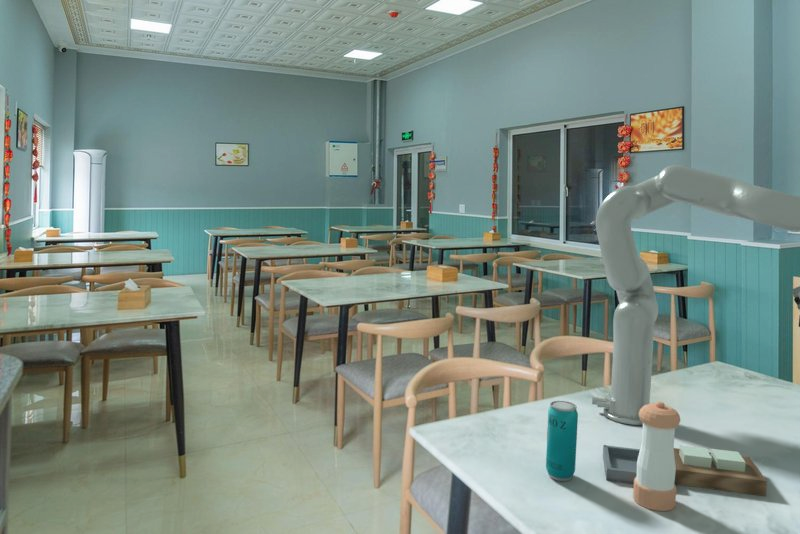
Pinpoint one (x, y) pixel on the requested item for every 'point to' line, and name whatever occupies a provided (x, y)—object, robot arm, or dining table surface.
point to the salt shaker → (656, 458)
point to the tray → (620, 463)
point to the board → (721, 477)
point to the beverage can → (561, 440)
